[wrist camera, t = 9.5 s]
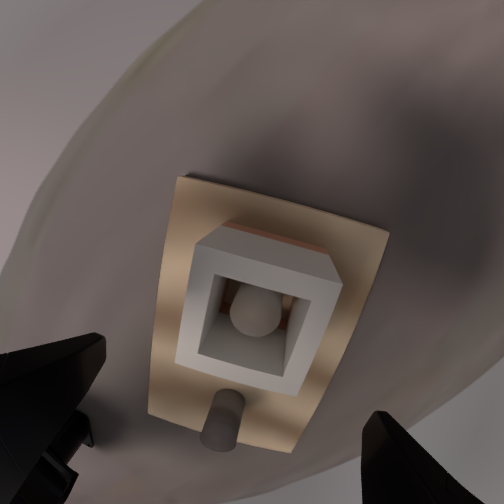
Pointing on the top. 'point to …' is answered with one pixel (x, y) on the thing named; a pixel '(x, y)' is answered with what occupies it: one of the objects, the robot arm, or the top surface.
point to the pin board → (175, 269)
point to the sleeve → (266, 276)
